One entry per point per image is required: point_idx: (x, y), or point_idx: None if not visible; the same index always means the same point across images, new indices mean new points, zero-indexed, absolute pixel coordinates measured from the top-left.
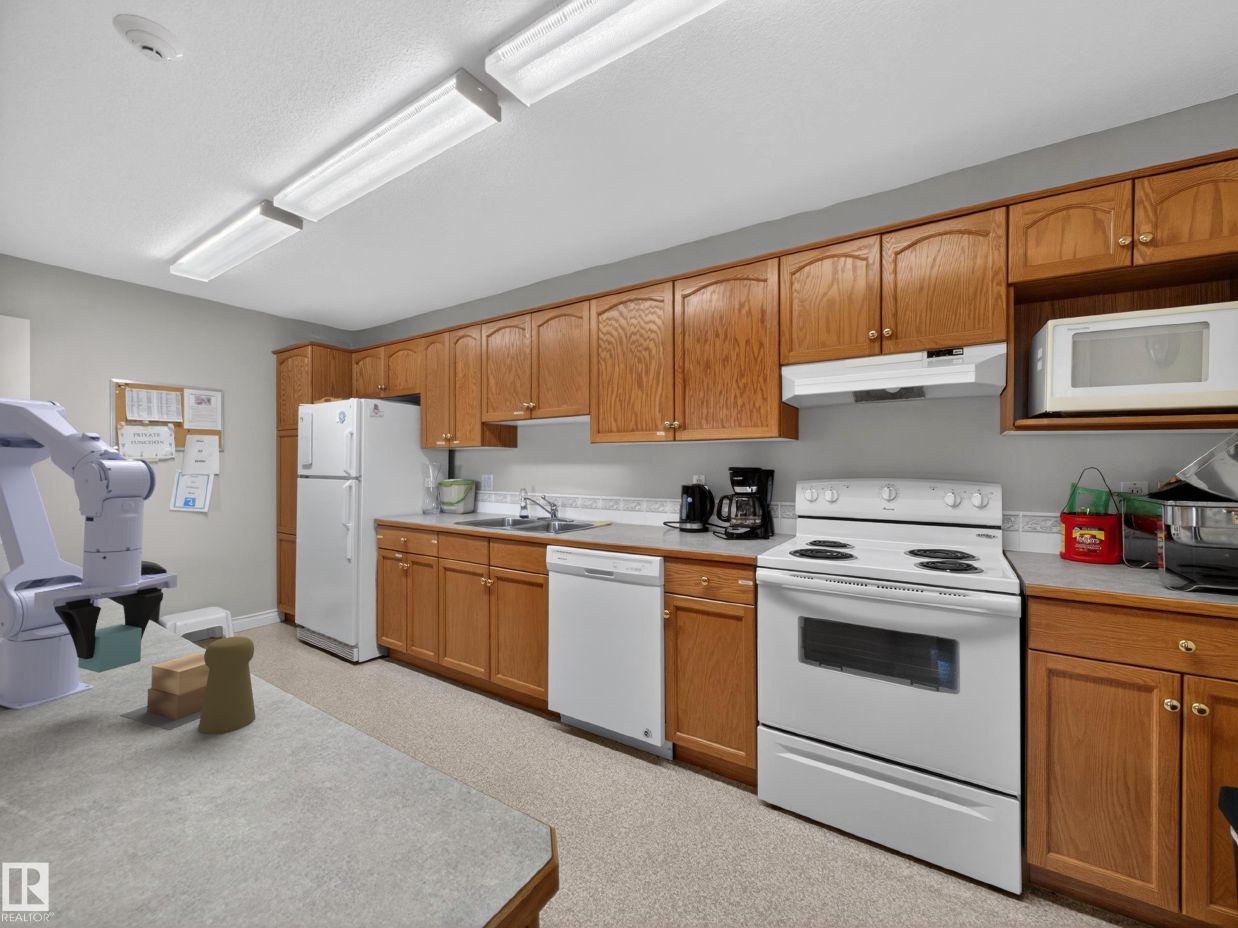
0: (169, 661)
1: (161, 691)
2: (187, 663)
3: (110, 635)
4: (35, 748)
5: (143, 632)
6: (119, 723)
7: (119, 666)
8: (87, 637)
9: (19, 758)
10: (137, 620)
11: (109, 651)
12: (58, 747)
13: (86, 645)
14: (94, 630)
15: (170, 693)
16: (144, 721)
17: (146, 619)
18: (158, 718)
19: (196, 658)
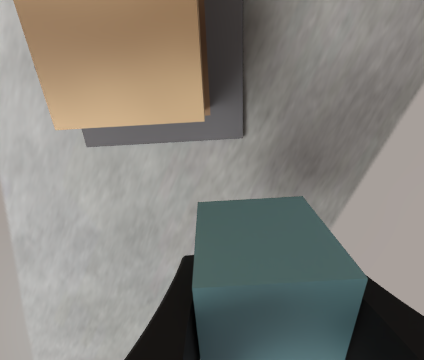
0: (153, 114)
1: (203, 58)
2: (122, 22)
3: (325, 278)
4: (366, 125)
5: (171, 288)
6: (254, 111)
7: (252, 200)
8: (396, 304)
9: (399, 103)
10: (186, 355)
11: (299, 229)
12: (355, 93)
13: (368, 279)
14: (396, 328)
15: (200, 9)
16: (239, 53)
17: (154, 341)
18: (218, 39)
19: (77, 58)
